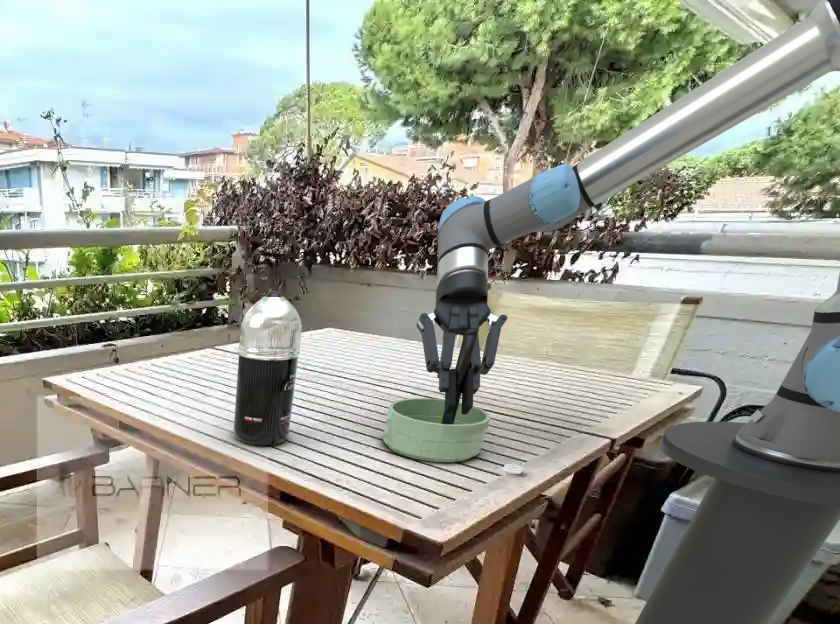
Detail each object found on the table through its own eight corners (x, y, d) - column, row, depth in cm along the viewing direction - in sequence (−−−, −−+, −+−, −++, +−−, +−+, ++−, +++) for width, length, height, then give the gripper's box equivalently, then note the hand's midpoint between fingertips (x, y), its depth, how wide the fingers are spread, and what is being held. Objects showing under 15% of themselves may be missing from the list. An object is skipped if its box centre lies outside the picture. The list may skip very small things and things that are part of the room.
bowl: (491, 446, 95) (502, 410, 92) (460, 471, 86) (471, 432, 82) (403, 427, 104) (410, 393, 101) (366, 448, 95) (374, 411, 92)
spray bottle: (223, 441, 99) (232, 293, 87) (244, 425, 107) (255, 286, 94) (278, 452, 94) (295, 296, 82) (296, 434, 102) (315, 289, 90)
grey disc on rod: (462, 445, 93) (495, 327, 84) (451, 453, 90) (485, 332, 81) (431, 439, 96) (460, 324, 87) (420, 446, 93) (449, 328, 84)
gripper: (501, 300, 94) (501, 423, 88) (408, 299, 97) (401, 418, 91) (521, 268, 87) (522, 400, 81) (420, 268, 90) (414, 395, 84)
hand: (458, 409), depth 86 cm, fingers closed on grey disc on rod, 2 cm apart
